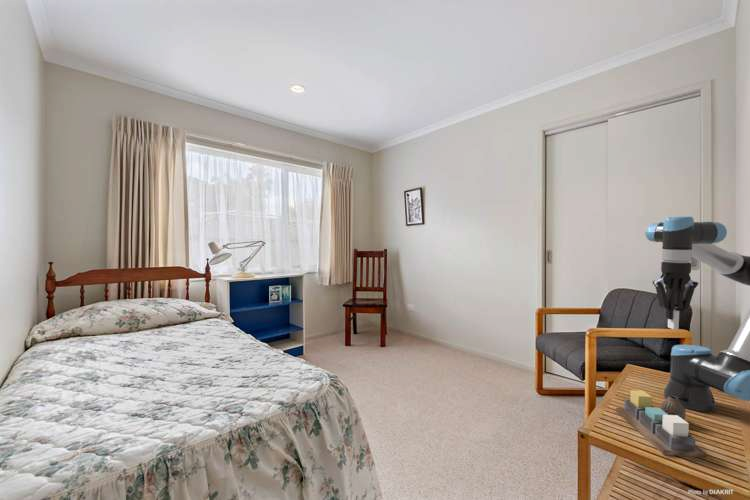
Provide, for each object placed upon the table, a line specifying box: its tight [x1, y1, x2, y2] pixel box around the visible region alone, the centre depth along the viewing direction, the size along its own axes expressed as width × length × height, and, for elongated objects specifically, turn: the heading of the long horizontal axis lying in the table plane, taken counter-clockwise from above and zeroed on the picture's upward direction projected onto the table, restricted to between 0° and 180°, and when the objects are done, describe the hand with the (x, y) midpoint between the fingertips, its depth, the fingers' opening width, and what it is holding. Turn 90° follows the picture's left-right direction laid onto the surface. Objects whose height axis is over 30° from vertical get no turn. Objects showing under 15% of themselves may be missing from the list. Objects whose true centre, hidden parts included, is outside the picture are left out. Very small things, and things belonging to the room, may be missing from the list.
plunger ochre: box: [629, 389, 653, 408], centre depth 119 cm, size 4×4×5 cm
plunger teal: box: [645, 406, 668, 421], centre depth 112 cm, size 4×4×5 cm
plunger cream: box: [662, 415, 690, 437], centre depth 104 cm, size 4×4×5 cm
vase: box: [659, 396, 687, 420], centre depth 118 cm, size 7×7×9 cm
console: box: [615, 398, 707, 458], centre depth 112 cm, size 12×24×6 cm, turn 173°
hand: (672, 328), depth 112 cm, fingers closed
